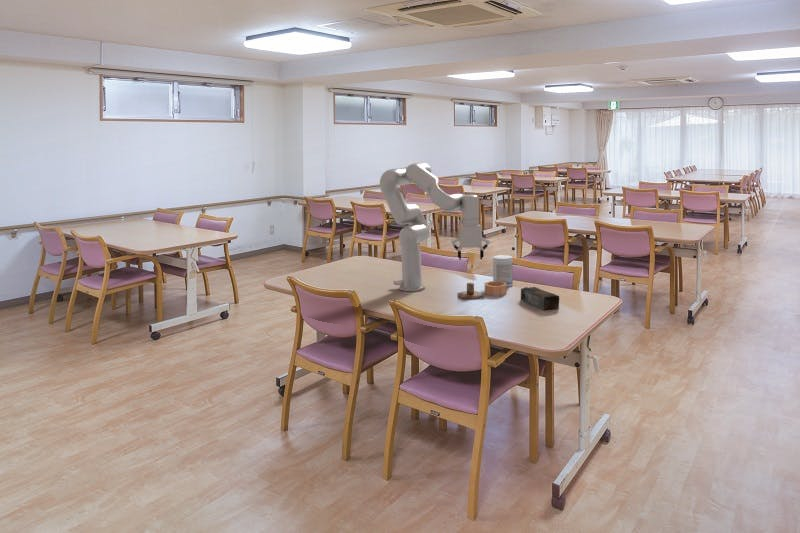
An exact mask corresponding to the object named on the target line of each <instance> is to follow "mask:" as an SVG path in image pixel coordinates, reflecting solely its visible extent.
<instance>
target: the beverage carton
mask: <svg viewBox="0 0 800 533" xmlns="http://www.w3.org/2000/svg"><path fill="white" fill-rule="evenodd" d="M521 300H522V301H521ZM520 301H521V302H523V301H524V302H523V303H525V302H526V303H525V304H527V303H528V305H530V306H532V305H533V306H532V307H534V306H535V308H537V309H539V310H542V311H544V312H546V311H545V310H547V311H551V310H552V311H553V310H559V309H560V296H559V295H557V294H556V293H552V292H549V291H546V290H544V289H540V288H539V287H536V286H532V287H531V286H530V287H528V286H525V287H523V288H520Z"/></svg>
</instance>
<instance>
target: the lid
mask: <svg viewBox="0 0 800 533" xmlns="http://www.w3.org/2000/svg"><path fill="white" fill-rule="evenodd" d="M458 293H459V297H460V298H463V299H478V298H481V297H482V293H483V292H482V291H481V292H480V291H478V290H477V291H476V290H475V283H474V282H467V283H466V290H464V291H460V292H458Z"/></svg>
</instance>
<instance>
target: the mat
mask: <svg viewBox="0 0 800 533" xmlns="http://www.w3.org/2000/svg"><path fill="white" fill-rule="evenodd" d="M459 293H460V292H457V293H456V294H457V295H456V296H457V300H458V301H461V300H463V301H465V300H467V301H469V300H472V301H473V300H475V301H476V300H479V301H480V300H485V297H484V293H483V292H481V293H482V297H481V298H478V299H463V298H460V297H459Z"/></svg>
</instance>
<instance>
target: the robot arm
mask: <svg viewBox="0 0 800 533" xmlns="http://www.w3.org/2000/svg"><path fill="white" fill-rule="evenodd" d="M439 183H440V180H439V178H438V177H437V176H435V175H434V174H433V173H432V169H431V167H430V165H429V164H427V163H425V162H417V163H411V164H409V165H408V166H406V167H400V168H399V167H398V168H391V169H387V170H385V171H384V172H383V173H382V175H381V176H380V180H379V189H380V191H381V192H380V193H381V194H382V195H383V198H384V199H385V201H386V203H387V206H388V209H389V212H390V213H391V215H392V217H393V219H394V221H395V223H396V224H397V225H401V226H402V225H407V224H408V225H407V226H404V227H403V228H402V229H400V231H399V234H398V237H399V244H400V251H401V276H402V277H401V279H399V280H393V285H395V286H399V290H400V289H401V290H400V291H402V290H404V291H403V292H419V291H423V290H425V288H426V287H425V285H424V284H423V283H422V255H421V254H422V253H421V252H422V251H421V248H420V246H419V244H420V243H423V242H426V241H427V240H428V239H429V237H430V228H429V225H428V222H427V221H426V219H425V216H424V214H423V212H422V210H421V209H420V207H419V206H418V205H417V204H415V203H412V202H411V203H407V202H406V200H405V197H404V195H403V193H402V192H401V191H400V190H399V189H398V188H397V187H399V186H406V185H410V184H414V185H415V186H417V187H418V188H419V189H420V190H423V191H424V192H425V193H426V194H427V196H428V198H429V199H430V201H431V202H432V203H433V205H435V206H437V207H438V208H440V209H441V210H443V212H448V213H451V212H455V211H460V210H461V219H459V220H458V223H459V224H461V225H460V227H459V237H457V238H455V239H454V240H452V241H451V244H452V246H453V248H454V249H455V250H456V251H457V258H458V260H459V261H461V260H462V249H463V248H464V249H465V248H466V249H467V248H470V249H471V248H479V249H480V250H479V259H480V260H483V258H484V253H485V252H484V251H485V250H486V249H487V247H488V246H489V244H490V243H491V242H490V240H489V239H487V238H485V237H483V236H482V235H483V234H482V226H481V224H480V220H479V218H480V217H479V215H480V210H479V209H480V208H479V207H480V206H479V200H480V199H479V196H478V195H476V194H464V193H458V192H457V193H451V194H448V193H446V192H445V191H443V190H442V189H441V188H440V187H439ZM458 242H459V243H458ZM483 242H485V244H484V245H483ZM456 243H458V244H459V246H457V244H456Z"/></svg>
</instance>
